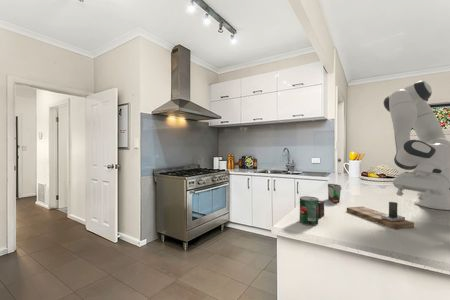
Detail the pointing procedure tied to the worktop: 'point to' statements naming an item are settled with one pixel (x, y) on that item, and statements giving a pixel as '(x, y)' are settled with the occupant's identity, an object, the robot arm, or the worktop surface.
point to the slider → (393, 213)
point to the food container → (334, 193)
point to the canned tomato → (309, 210)
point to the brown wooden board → (379, 218)
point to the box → (320, 209)
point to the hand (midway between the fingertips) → (409, 197)
